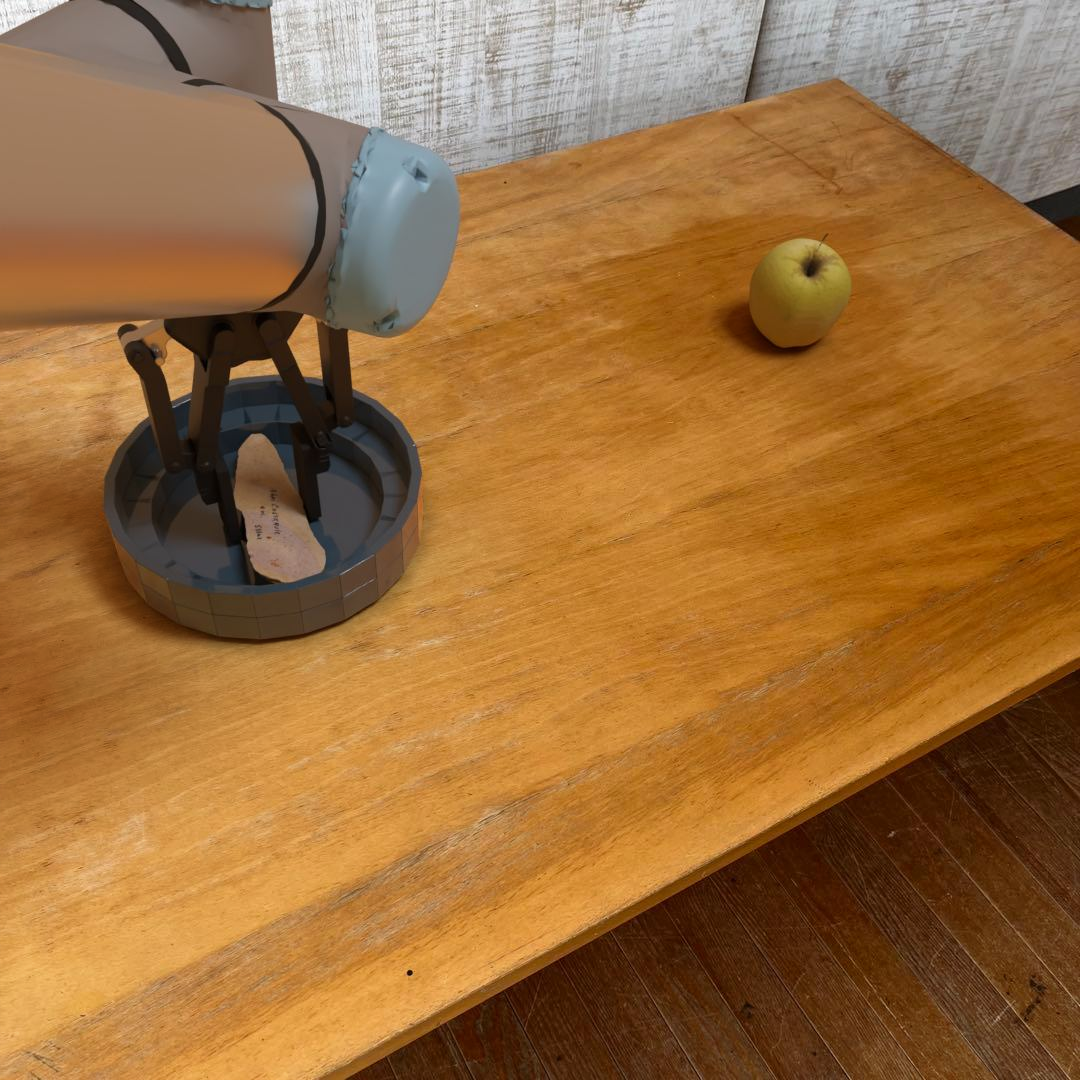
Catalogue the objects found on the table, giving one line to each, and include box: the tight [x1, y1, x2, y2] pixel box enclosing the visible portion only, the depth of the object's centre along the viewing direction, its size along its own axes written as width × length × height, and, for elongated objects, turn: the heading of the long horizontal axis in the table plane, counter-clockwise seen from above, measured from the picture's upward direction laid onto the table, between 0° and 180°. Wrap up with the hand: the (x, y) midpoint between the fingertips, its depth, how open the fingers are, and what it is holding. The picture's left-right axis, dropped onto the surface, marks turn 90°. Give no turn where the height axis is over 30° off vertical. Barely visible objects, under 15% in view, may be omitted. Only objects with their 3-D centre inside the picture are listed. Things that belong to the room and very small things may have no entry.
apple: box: [748, 232, 853, 349], centre depth 95 cm, size 8×8×10 cm
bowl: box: [102, 373, 424, 640], centre depth 79 cm, size 20×20×5 cm
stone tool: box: [234, 434, 326, 584], centre depth 80 cm, size 5×2×15 cm
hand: (271, 515), depth 80 cm, fingers closed on stone tool, 5 cm apart
